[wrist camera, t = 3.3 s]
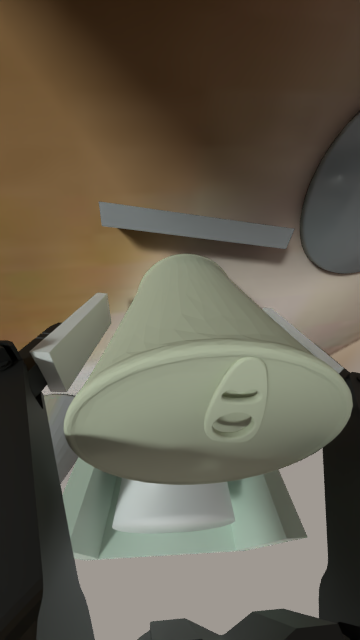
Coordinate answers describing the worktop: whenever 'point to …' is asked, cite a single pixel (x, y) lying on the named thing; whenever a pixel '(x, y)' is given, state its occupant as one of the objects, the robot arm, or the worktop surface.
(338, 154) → the coaster
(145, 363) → the can
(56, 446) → the lamp
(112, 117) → the worktop surface
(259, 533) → the dispenser
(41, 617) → the robot arm
